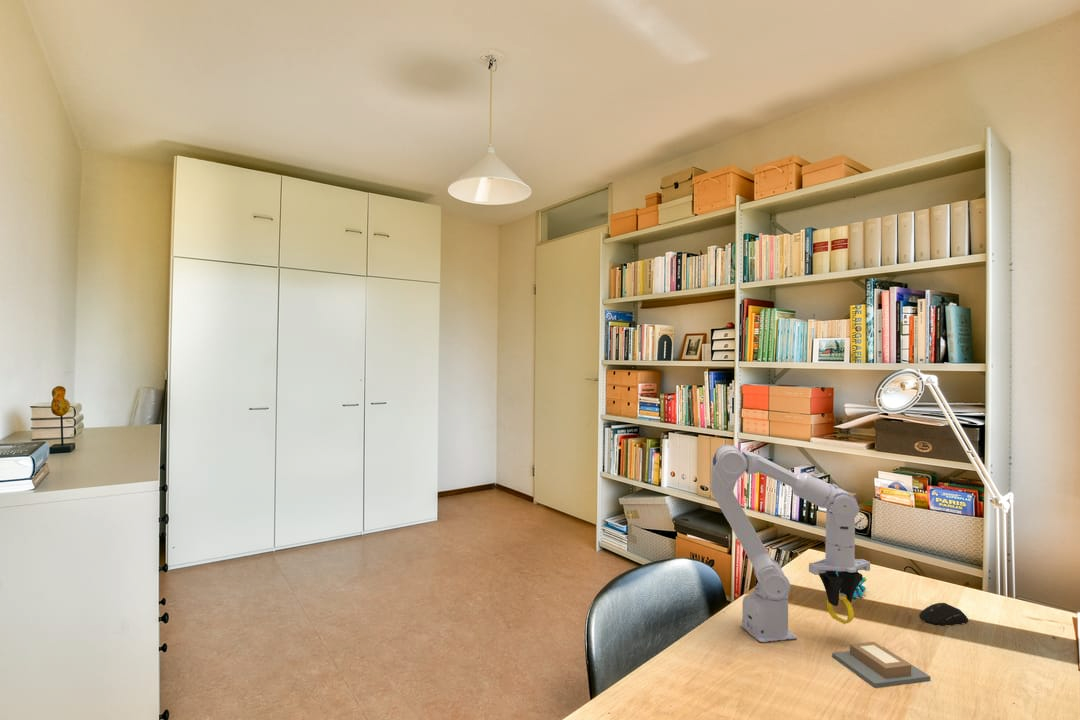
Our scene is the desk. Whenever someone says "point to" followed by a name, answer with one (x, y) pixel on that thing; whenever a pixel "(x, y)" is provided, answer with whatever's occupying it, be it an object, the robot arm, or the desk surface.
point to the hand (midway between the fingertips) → (839, 603)
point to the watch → (848, 605)
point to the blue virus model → (858, 588)
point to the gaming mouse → (943, 615)
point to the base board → (876, 676)
